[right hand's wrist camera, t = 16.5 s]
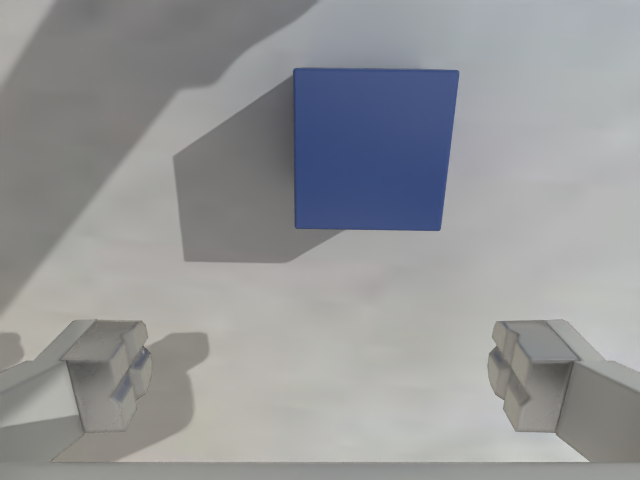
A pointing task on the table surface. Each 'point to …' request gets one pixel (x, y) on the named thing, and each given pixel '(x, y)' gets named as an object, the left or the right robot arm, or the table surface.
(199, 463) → the right robot arm
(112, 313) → the table surface
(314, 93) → the block
